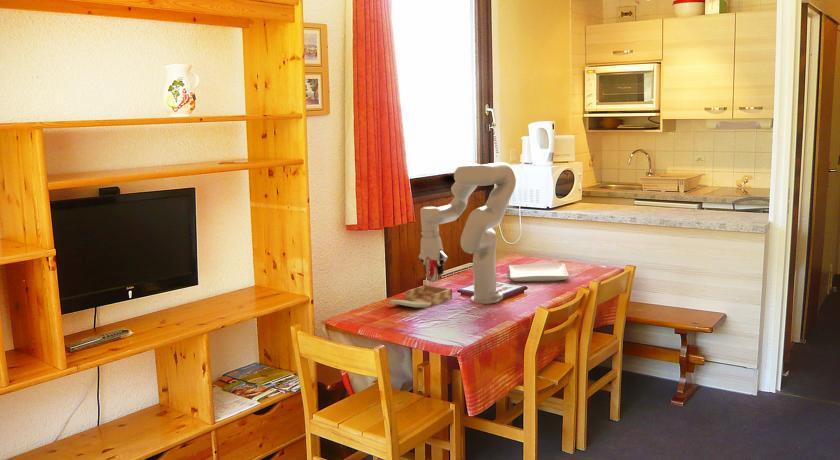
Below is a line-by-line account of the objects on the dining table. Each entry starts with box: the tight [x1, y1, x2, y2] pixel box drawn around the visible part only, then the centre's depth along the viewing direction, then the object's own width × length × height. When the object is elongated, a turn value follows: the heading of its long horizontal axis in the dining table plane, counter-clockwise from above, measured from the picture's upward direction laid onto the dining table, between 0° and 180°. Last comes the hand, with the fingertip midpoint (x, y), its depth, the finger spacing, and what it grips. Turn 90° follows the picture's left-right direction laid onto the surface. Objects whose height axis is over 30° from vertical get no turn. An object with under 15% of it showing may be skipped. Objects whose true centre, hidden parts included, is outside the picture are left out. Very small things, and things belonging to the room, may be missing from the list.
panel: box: [388, 299, 432, 308], centre depth 322 cm, size 1×14×11 cm
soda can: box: [424, 255, 443, 283], centre depth 345 cm, size 7×7×12 cm
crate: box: [405, 284, 453, 307], centre depth 331 cm, size 13×15×5 cm
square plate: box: [508, 262, 570, 283], centre depth 368 cm, size 27×27×4 cm
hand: (434, 273), depth 345 cm, fingers closed on soda can, 6 cm apart
